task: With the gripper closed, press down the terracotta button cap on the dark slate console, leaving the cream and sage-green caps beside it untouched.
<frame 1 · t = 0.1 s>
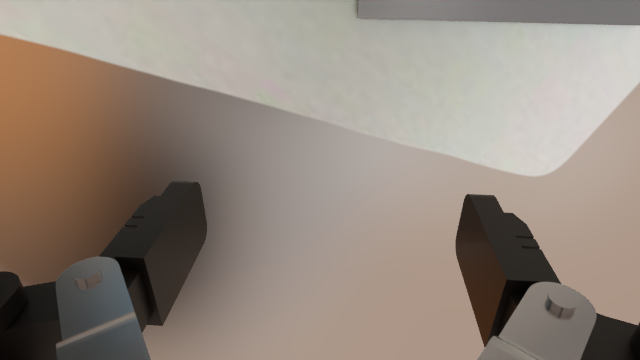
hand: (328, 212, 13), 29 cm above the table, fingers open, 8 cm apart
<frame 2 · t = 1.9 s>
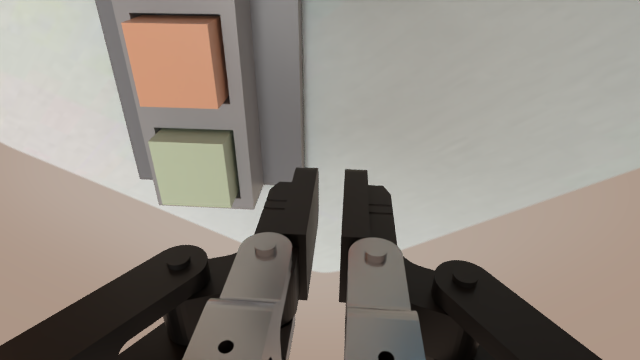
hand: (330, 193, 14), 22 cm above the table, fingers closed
button terracotta: (180, 61, 28), point 6 cm above the table, slide at 0.0 cm
console: (209, 41, 33), on the table
button sage: (197, 166, 32), point 6 cm above the table, slide at 0.0 cm
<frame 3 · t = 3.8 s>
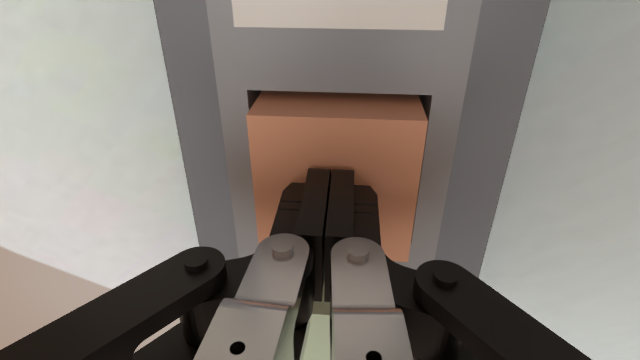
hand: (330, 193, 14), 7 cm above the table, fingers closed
button terracotta: (336, 172, 15), point 6 cm above the table, slide at 0.4 cm, touching gripper
console: (342, 112, 20), on the table
button sage: (332, 330, 19), point 6 cm above the table, slide at 0.0 cm
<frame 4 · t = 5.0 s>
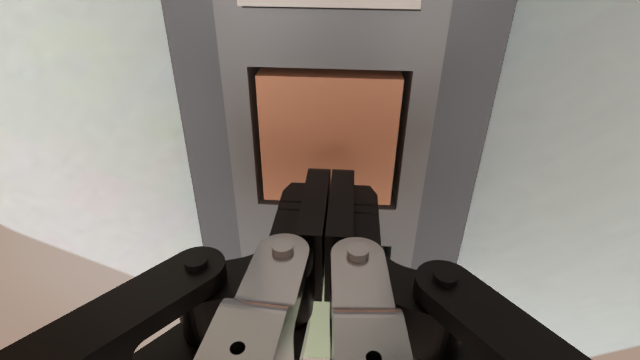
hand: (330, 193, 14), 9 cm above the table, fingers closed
button terracotta: (329, 130, 18), point 5 cm above the table, slide at 1.7 cm
console: (333, 94, 22), on the table
button sage: (324, 295, 20), point 6 cm above the table, slide at 0.0 cm
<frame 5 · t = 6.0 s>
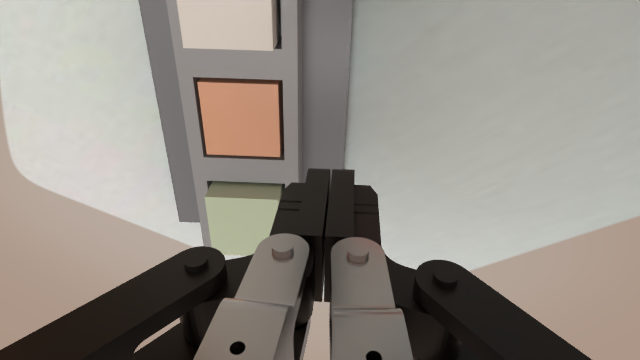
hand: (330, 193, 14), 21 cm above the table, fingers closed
button terracotta: (244, 113, 30), point 5 cm above the table, slide at 1.7 cm
console: (255, 93, 34), on the table
button sage: (247, 216, 33), point 6 cm above the table, slide at 0.0 cm
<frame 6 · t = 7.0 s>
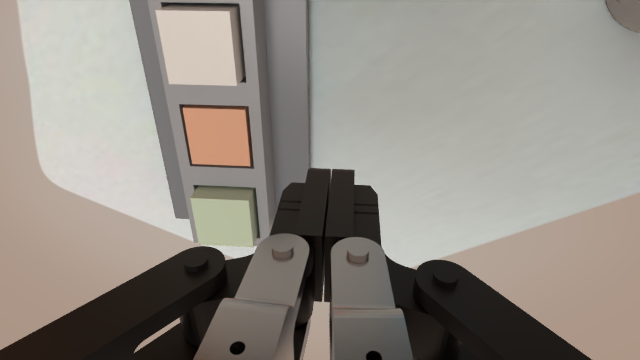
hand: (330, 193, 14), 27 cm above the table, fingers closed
button terracotta: (222, 131, 38), point 5 cm above the table, slide at 1.7 cm
console: (235, 112, 42), on the table
button cream: (204, 45, 32), point 6 cm above the table, slide at 0.0 cm
button sage: (227, 214, 40), point 6 cm above the table, slide at 0.0 cm
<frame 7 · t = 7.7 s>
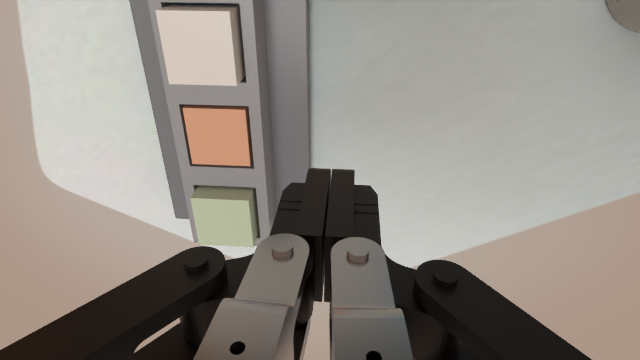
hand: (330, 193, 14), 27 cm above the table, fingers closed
button terracotta: (222, 131, 38), point 5 cm above the table, slide at 1.7 cm
console: (235, 112, 42), on the table
button cream: (204, 45, 32), point 6 cm above the table, slide at 0.0 cm
button sage: (227, 214, 40), point 6 cm above the table, slide at 0.0 cm
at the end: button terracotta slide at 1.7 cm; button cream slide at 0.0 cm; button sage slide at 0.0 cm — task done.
